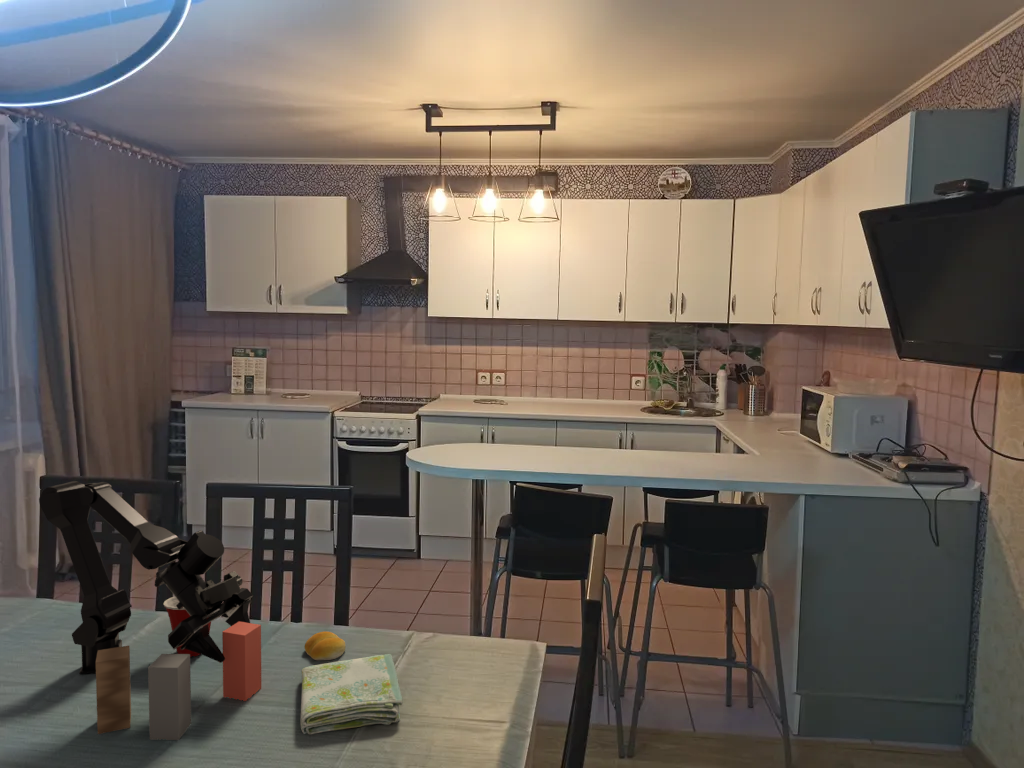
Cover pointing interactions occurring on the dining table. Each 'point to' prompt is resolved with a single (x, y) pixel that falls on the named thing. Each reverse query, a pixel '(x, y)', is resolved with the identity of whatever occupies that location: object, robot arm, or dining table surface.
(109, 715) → the walnut block
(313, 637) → the bread roll
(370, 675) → the towel
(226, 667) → the red block
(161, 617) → the dining table surface
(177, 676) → the gray block
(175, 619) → the plastic cup
